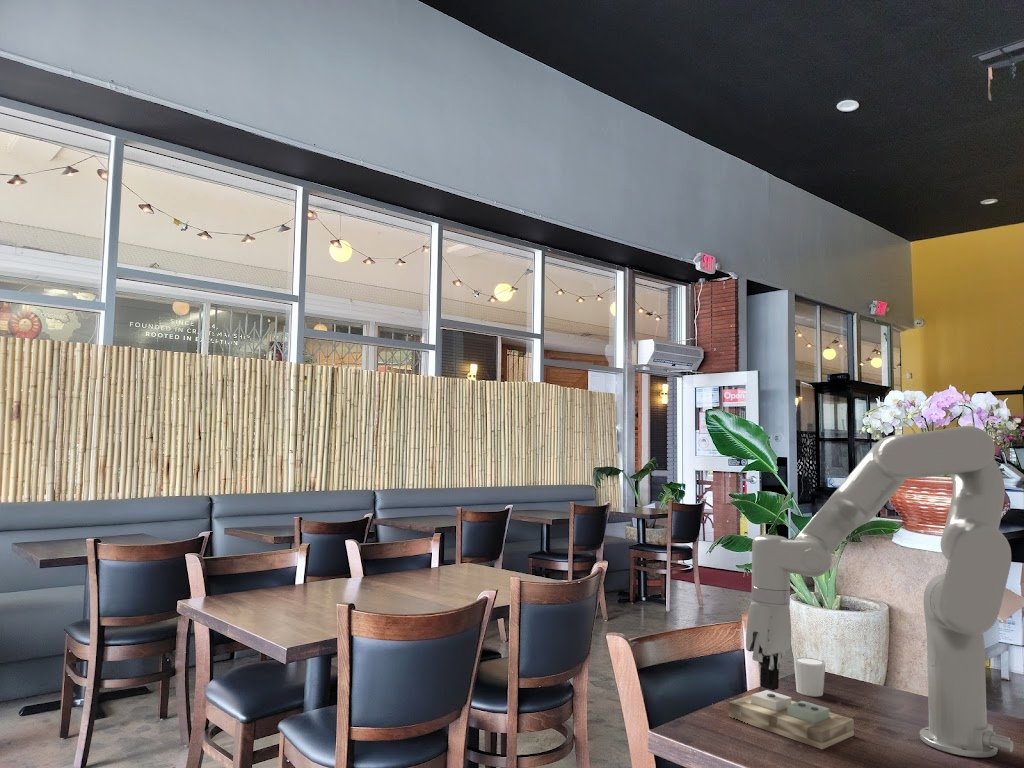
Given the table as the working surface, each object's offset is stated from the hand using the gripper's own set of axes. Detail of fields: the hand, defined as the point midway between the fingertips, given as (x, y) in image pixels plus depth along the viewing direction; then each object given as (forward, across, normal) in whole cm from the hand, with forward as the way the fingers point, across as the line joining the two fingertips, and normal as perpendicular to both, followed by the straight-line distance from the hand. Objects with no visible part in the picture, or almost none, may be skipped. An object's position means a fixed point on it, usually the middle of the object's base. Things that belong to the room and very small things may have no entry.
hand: (769, 687), depth 150 cm
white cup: (+6, -24, -5) cm, 26 cm away
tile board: (+6, 0, +4) cm, 8 cm away
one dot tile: (+4, 0, 0) cm, 4 cm away
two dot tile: (+4, 0, +8) cm, 9 cm away
